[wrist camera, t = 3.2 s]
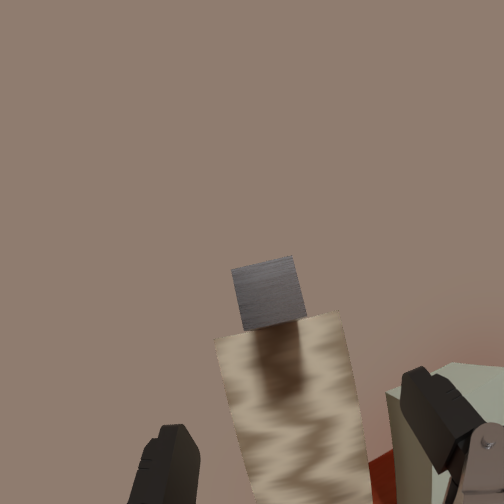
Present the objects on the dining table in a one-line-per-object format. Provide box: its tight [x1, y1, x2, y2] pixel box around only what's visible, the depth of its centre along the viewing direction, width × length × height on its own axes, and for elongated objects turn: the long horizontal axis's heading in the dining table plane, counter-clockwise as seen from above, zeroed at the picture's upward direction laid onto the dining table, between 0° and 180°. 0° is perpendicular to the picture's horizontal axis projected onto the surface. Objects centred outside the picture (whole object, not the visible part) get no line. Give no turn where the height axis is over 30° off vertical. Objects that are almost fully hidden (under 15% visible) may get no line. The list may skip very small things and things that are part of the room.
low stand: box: [385, 363, 504, 504], centre depth 17 cm, size 9×10×22 cm
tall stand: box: [214, 310, 373, 504], centre depth 27 cm, size 12×10×32 cm
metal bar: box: [231, 255, 307, 331], centre depth 29 cm, size 4×22×4 cm, turn 175°
